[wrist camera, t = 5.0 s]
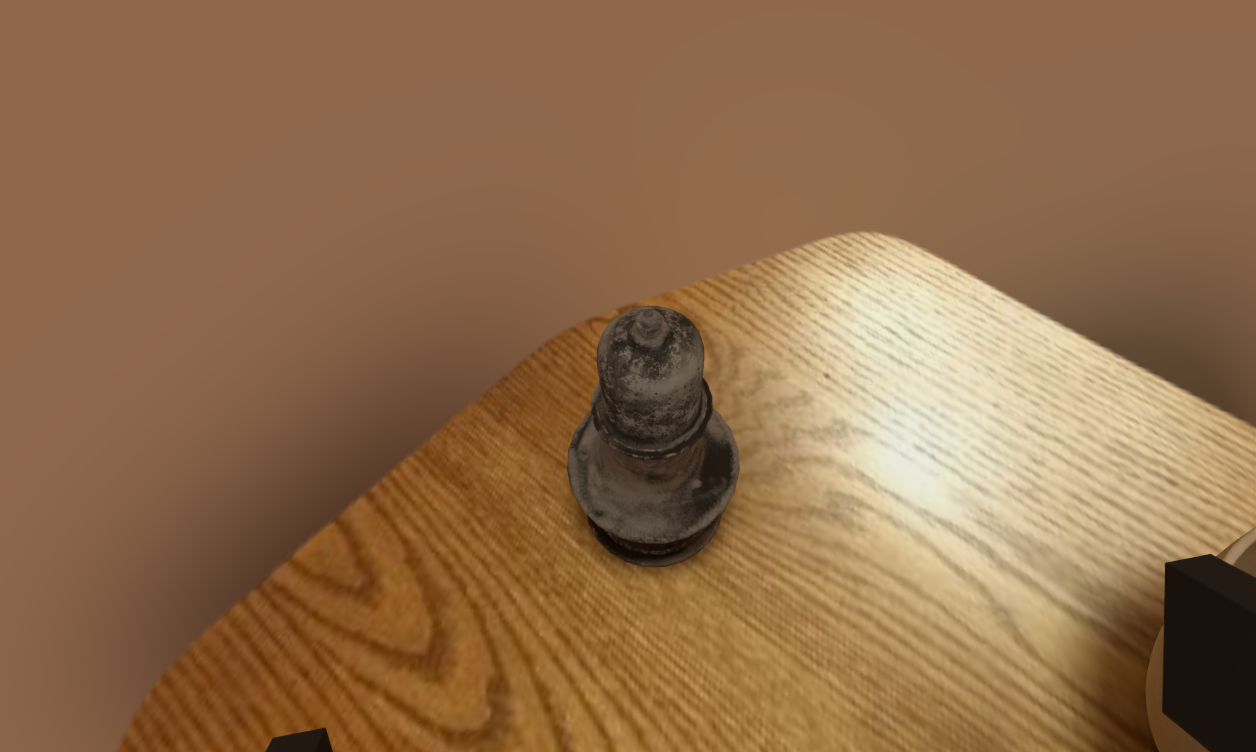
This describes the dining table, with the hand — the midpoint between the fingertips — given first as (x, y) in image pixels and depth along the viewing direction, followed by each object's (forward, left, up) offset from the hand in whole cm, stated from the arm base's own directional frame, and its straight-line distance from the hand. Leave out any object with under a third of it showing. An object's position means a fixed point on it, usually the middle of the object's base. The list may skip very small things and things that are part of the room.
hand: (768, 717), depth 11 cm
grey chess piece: (-5, +8, -14) cm, 17 cm away
